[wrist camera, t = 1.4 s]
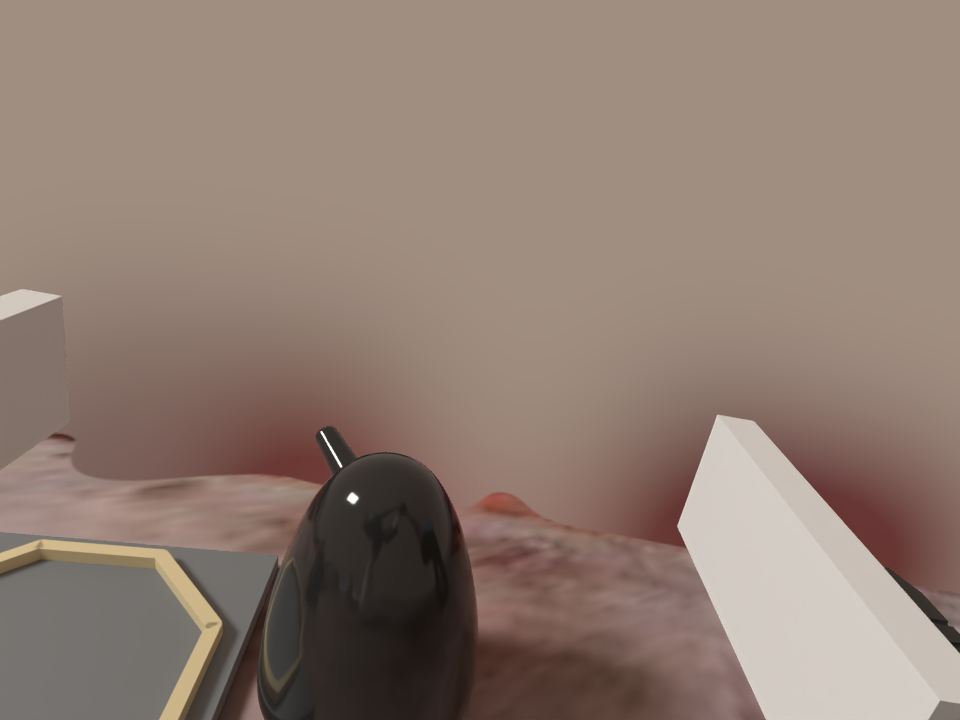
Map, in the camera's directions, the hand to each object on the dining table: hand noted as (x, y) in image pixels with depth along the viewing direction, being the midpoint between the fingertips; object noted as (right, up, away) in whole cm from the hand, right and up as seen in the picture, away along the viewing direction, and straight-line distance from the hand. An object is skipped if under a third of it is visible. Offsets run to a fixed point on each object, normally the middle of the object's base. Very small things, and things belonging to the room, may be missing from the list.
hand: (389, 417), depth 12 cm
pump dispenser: (-4, -17, +19) cm, 25 cm away
